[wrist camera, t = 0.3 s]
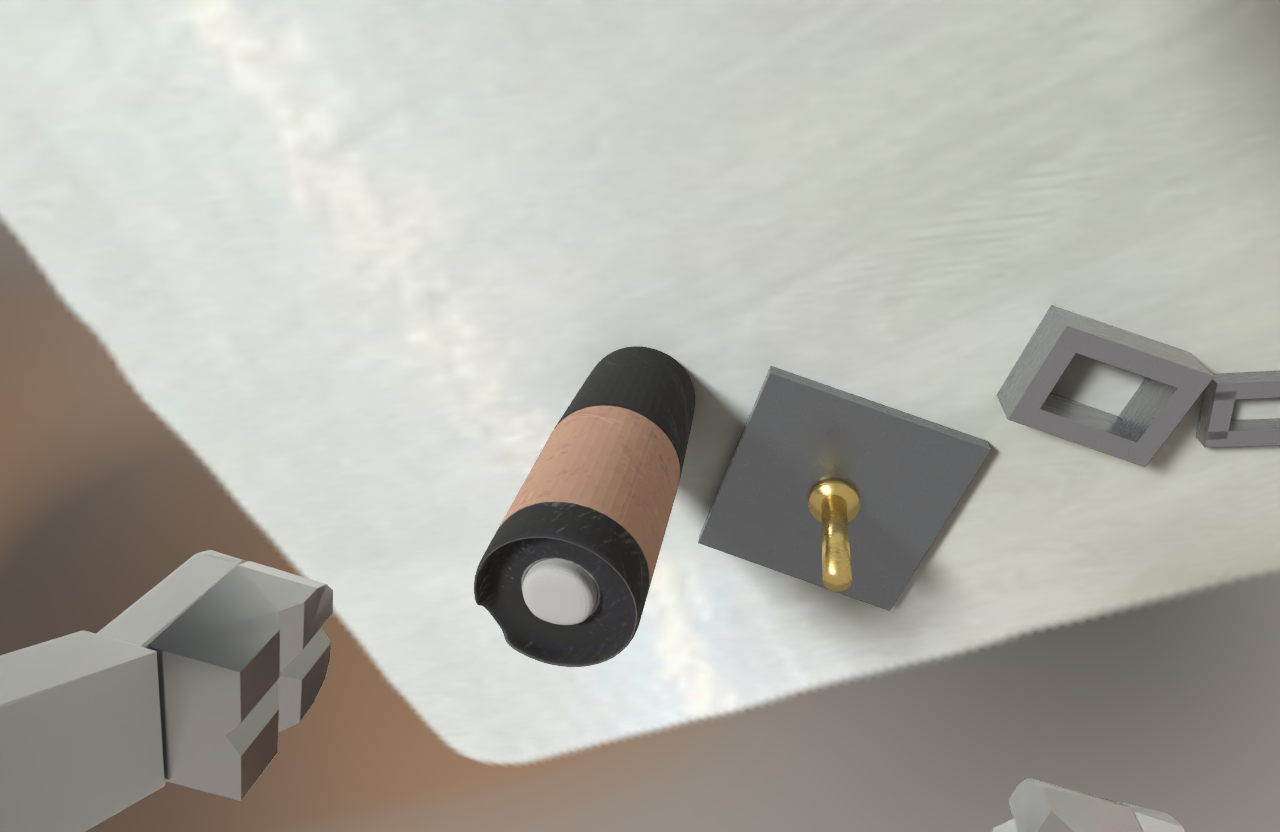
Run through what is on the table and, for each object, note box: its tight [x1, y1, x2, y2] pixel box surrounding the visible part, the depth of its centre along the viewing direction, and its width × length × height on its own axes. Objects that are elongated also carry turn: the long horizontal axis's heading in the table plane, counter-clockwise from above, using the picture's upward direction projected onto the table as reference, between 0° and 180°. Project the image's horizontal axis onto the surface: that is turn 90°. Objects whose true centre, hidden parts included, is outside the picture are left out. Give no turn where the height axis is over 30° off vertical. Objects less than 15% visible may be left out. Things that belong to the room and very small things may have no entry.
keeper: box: [698, 366, 991, 611], centre depth 48 cm, size 14×14×9 cm
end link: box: [997, 305, 1214, 467], centre depth 44 cm, size 6×8×3 cm
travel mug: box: [474, 347, 695, 667], centre depth 42 cm, size 8×8×20 cm
